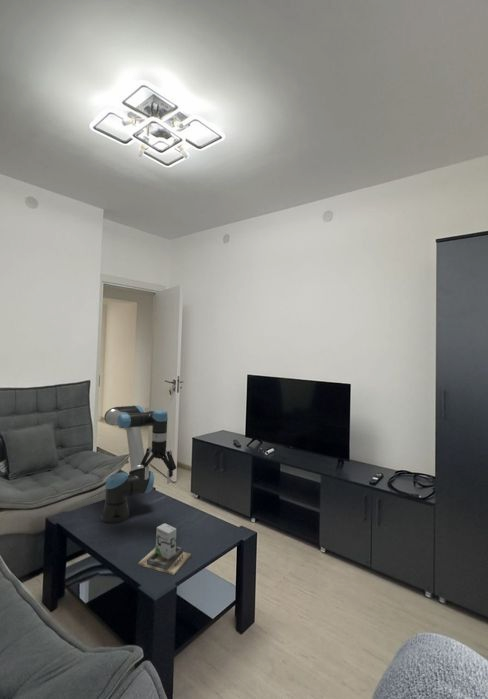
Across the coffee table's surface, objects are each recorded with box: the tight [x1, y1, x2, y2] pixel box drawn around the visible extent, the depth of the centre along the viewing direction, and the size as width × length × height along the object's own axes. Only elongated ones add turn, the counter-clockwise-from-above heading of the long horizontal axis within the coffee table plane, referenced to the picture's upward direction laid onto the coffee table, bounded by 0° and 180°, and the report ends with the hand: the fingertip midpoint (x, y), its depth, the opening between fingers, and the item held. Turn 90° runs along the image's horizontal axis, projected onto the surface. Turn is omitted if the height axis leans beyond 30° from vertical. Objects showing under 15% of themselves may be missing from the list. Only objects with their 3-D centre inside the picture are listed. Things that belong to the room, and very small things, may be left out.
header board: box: [138, 546, 192, 576], centre depth 157 cm, size 18×15×3 cm
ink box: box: [155, 522, 177, 559], centre depth 157 cm, size 9×5×12 cm, turn 56°
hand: (157, 480), depth 182 cm, fingers open, 13 cm apart
